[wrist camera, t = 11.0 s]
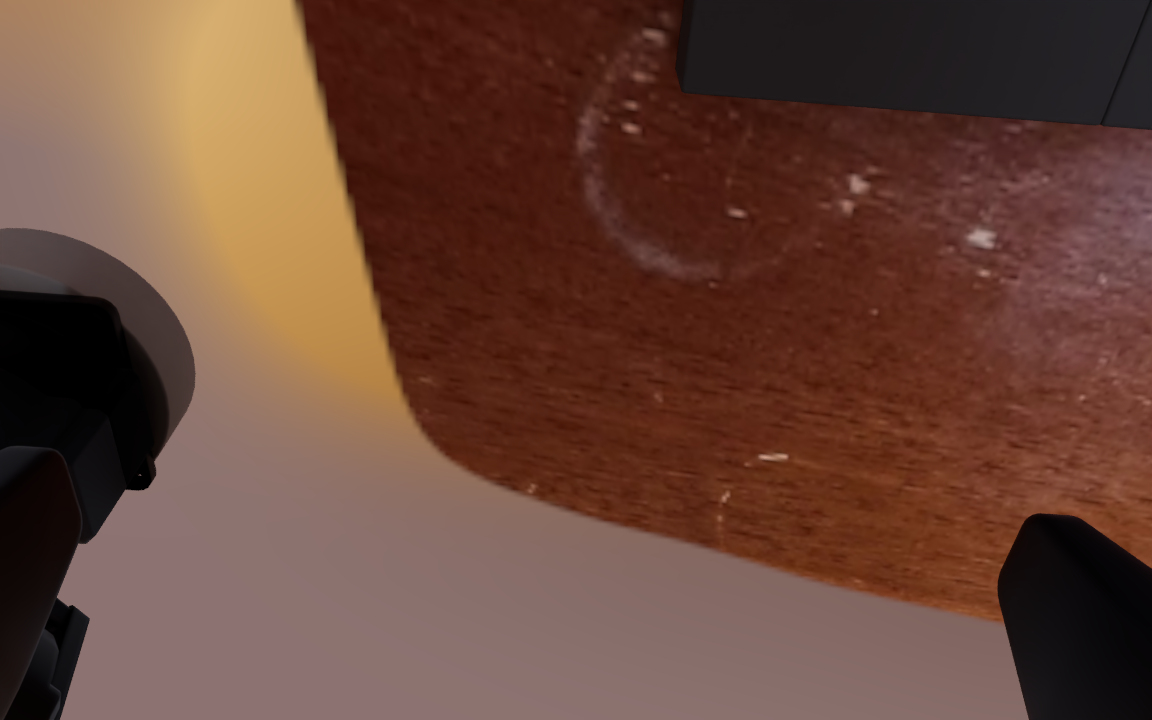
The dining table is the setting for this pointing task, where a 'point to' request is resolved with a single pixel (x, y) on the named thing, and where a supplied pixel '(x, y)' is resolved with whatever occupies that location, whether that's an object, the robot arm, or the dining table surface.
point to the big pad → (928, 56)
